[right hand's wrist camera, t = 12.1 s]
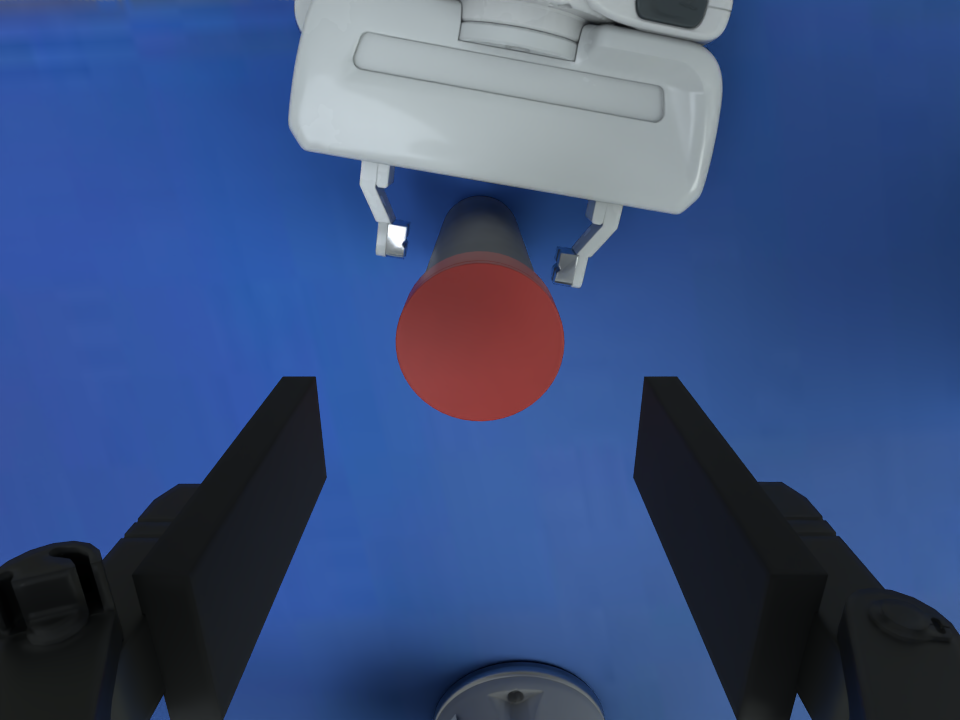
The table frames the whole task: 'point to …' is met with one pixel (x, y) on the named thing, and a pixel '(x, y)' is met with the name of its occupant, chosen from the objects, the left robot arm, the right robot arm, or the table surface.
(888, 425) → the table surface
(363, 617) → the table surface
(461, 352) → the lid
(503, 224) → the dark grey cylinder
